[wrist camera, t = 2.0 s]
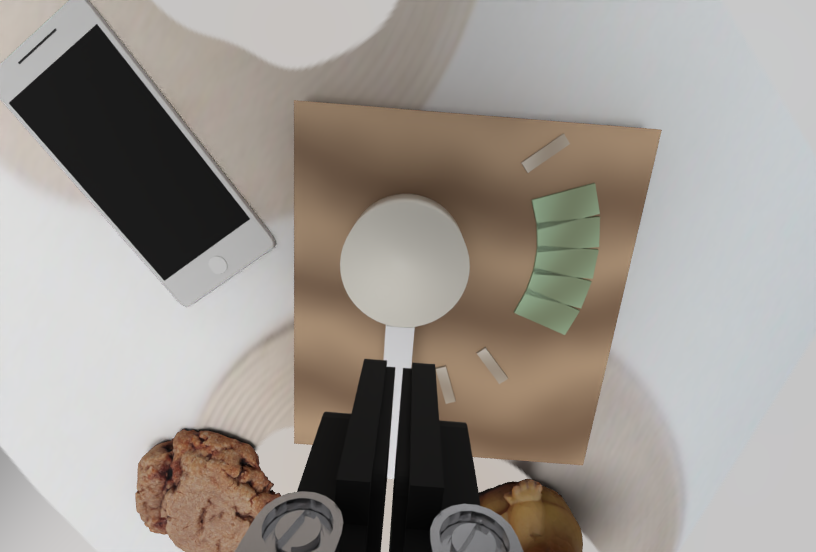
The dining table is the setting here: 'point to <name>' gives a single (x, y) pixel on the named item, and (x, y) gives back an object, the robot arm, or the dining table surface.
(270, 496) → the cookie
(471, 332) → the tuner board
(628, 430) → the dining table surface
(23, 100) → the smartphone
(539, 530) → the figurine
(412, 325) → the peg dial
